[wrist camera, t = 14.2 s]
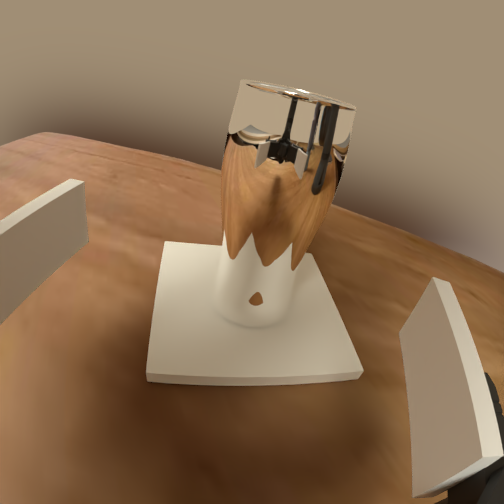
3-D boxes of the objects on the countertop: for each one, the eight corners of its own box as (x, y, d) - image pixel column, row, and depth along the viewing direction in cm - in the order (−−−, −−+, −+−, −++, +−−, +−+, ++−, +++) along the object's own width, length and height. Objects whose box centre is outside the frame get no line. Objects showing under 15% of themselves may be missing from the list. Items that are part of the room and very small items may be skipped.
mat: (308, 261, 31) (311, 253, 31) (357, 379, 20) (363, 370, 19) (164, 250, 28) (165, 241, 28) (146, 381, 17) (145, 372, 17)
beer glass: (311, 324, 22) (386, 117, 14) (219, 341, 20) (268, 87, 12) (272, 267, 28) (317, 92, 20) (194, 274, 25) (221, 75, 17)
